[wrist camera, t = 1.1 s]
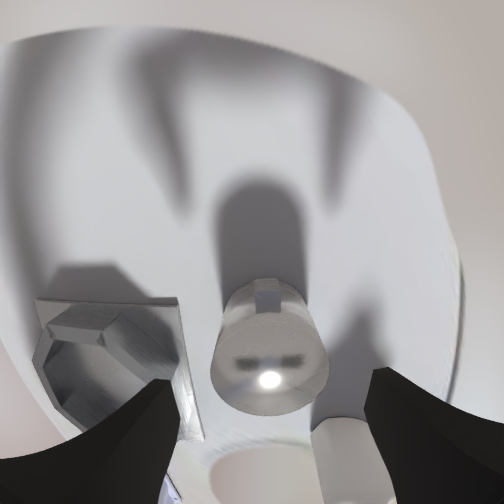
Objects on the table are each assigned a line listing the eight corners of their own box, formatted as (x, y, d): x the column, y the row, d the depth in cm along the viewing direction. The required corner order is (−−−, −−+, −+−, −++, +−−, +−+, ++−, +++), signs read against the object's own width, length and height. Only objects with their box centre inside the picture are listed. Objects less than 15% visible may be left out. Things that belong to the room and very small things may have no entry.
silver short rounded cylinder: (305, 350, 16) (324, 411, 11) (227, 354, 16) (217, 416, 11) (308, 260, 15) (336, 297, 9) (219, 264, 15) (200, 303, 9)
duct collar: (205, 438, 18) (199, 466, 15) (82, 416, 18) (69, 436, 15) (178, 304, 15) (162, 327, 12) (37, 298, 16) (12, 312, 13)
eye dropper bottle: (332, 454, 18) (359, 563, 6) (303, 427, 17) (326, 563, 6) (376, 431, 18) (421, 538, 6) (354, 400, 17) (408, 534, 5)
